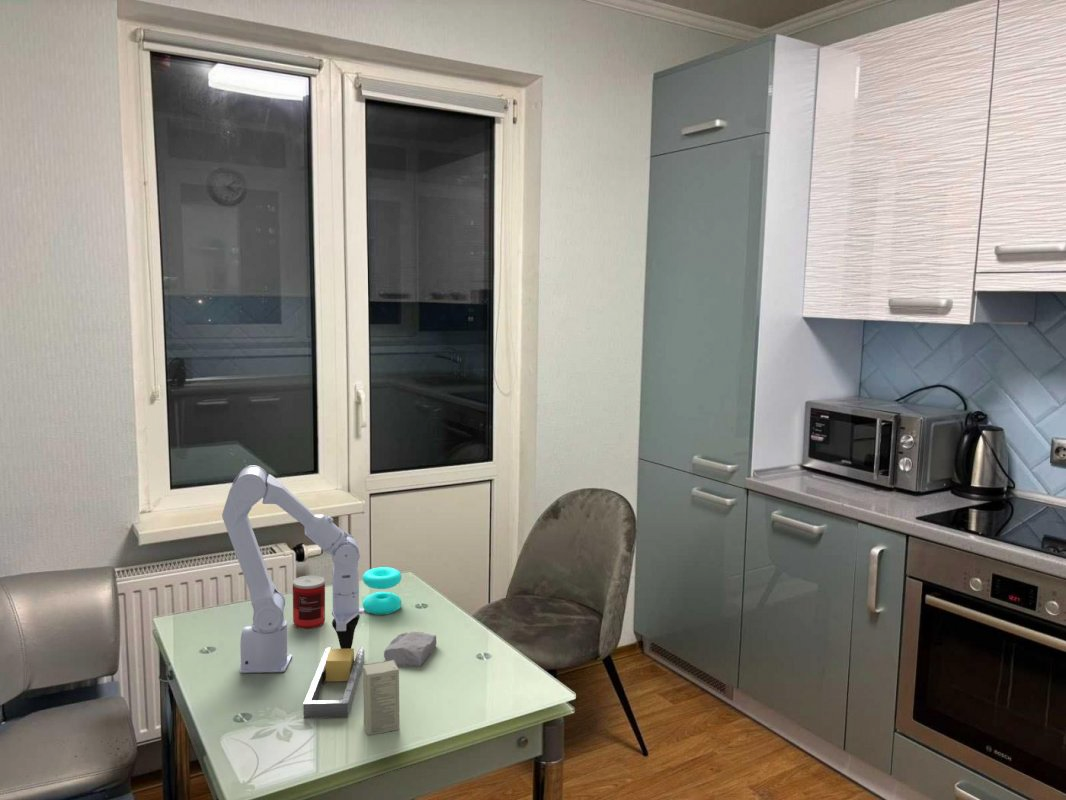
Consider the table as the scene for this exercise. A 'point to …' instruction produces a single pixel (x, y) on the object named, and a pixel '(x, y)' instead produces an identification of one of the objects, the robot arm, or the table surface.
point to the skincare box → (381, 697)
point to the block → (339, 664)
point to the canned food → (308, 601)
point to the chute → (332, 707)
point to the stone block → (410, 648)
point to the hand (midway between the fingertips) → (346, 648)
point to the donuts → (382, 600)
